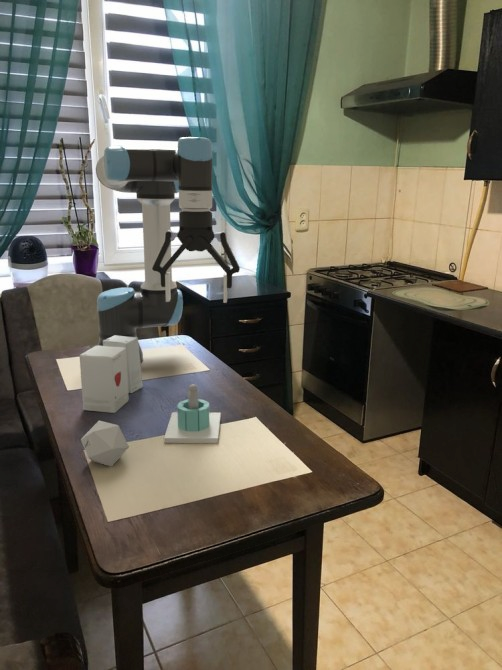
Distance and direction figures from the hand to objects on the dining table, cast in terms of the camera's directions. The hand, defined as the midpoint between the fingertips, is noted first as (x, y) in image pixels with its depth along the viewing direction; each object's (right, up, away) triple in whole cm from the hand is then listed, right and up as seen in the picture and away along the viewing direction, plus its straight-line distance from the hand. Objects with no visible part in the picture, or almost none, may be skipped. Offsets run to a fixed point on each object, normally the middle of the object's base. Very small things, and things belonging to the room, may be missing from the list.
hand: (196, 301), depth 129 cm
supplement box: (-25, -27, +12) cm, 38 cm away
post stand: (-1, -30, -1) cm, 30 cm away
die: (-17, -35, -16) cm, 42 cm away
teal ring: (-1, -29, -1) cm, 29 cm away
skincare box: (-23, -23, +24) cm, 40 cm away
